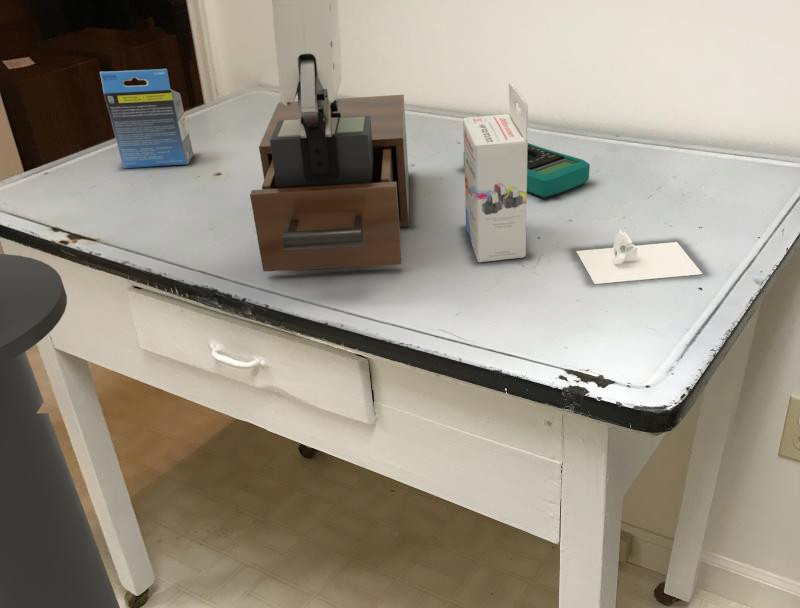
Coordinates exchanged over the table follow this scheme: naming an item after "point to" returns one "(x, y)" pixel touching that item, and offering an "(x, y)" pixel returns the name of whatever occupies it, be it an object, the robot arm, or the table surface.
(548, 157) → the digital multimeter
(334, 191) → the drawer
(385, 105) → the cabinet
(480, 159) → the ink box
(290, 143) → the grey rectangular box
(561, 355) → the table surface
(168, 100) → the label tape box
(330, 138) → the robot arm
